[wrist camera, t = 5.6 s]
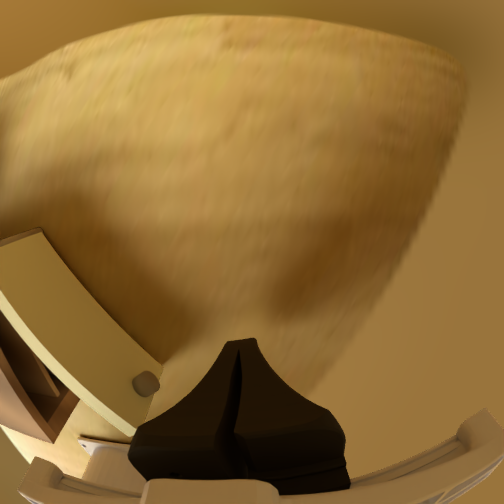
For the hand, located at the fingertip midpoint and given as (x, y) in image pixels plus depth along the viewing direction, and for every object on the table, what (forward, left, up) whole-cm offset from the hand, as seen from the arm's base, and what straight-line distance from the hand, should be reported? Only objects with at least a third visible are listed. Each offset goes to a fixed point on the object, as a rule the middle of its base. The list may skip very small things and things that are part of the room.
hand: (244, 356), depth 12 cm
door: (+3, +8, -3) cm, 9 cm away
